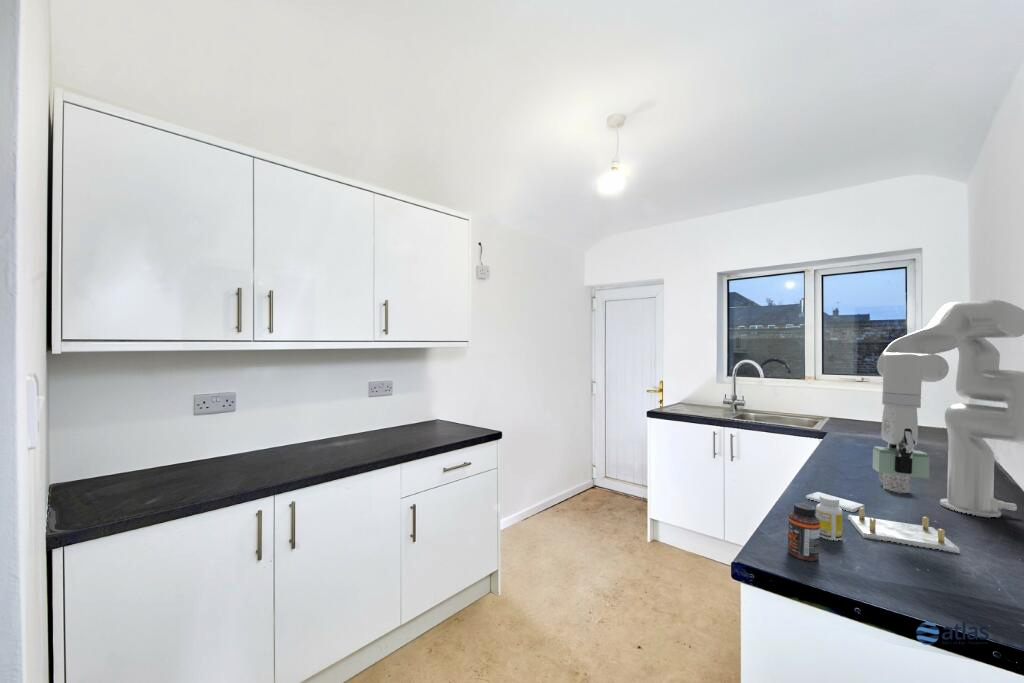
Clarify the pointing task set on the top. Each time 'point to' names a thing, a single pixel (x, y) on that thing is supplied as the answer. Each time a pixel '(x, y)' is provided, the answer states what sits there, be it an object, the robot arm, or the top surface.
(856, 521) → the plate
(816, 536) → the supplement bottle
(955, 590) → the top surface
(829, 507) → the supplement bottle
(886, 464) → the block
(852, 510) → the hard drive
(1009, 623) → the top surface
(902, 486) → the mug
